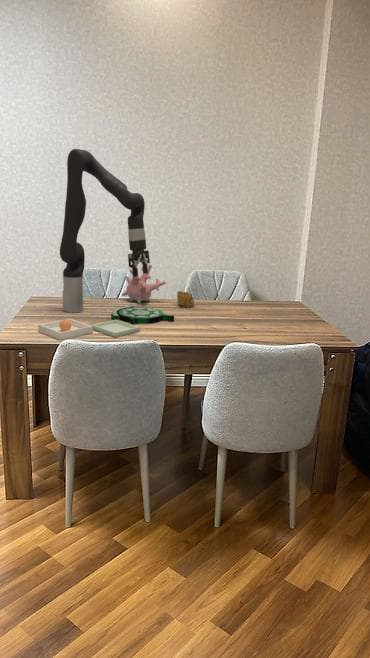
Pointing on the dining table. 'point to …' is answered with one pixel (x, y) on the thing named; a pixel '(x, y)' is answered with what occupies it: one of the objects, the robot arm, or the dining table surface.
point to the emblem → (140, 315)
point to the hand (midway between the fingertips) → (140, 274)
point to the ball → (65, 325)
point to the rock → (185, 299)
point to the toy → (141, 286)
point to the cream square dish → (56, 332)
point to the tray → (115, 328)
